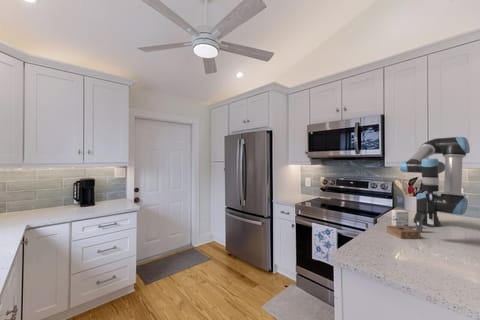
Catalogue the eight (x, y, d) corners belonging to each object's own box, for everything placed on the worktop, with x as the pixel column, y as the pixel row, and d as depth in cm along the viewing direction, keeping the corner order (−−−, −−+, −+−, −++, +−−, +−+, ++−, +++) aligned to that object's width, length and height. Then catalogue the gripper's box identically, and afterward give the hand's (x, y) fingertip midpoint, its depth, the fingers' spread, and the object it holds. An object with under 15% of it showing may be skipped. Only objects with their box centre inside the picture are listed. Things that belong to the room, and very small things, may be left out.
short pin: (419, 231, 140) (419, 220, 140) (423, 232, 137) (423, 221, 137) (414, 231, 140) (414, 220, 140) (418, 232, 137) (418, 221, 137)
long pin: (430, 225, 126) (430, 202, 126) (435, 227, 123) (435, 203, 123) (425, 225, 126) (425, 202, 126) (430, 227, 123) (430, 204, 123)
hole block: (404, 231, 138) (404, 225, 138) (420, 238, 126) (420, 232, 126) (386, 231, 138) (386, 225, 138) (401, 238, 126) (401, 232, 126)
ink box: (403, 226, 151) (403, 210, 151) (408, 228, 146) (408, 211, 146) (391, 225, 151) (391, 209, 151) (395, 228, 146) (395, 211, 146)
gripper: (421, 182, 133) (421, 219, 133) (422, 185, 121) (422, 225, 121) (437, 183, 128) (437, 221, 129) (440, 186, 116) (440, 228, 116)
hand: (430, 223), depth 125 cm, fingers closed on long pin, 3 cm apart
